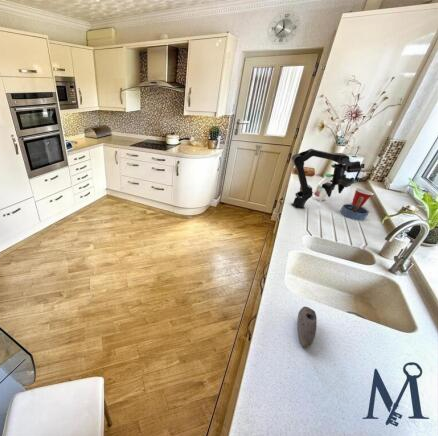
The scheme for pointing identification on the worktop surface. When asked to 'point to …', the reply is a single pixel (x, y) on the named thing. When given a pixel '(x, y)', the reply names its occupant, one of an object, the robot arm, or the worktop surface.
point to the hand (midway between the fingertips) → (334, 195)
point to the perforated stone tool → (306, 326)
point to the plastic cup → (361, 193)
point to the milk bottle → (320, 191)
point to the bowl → (348, 212)
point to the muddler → (358, 204)
